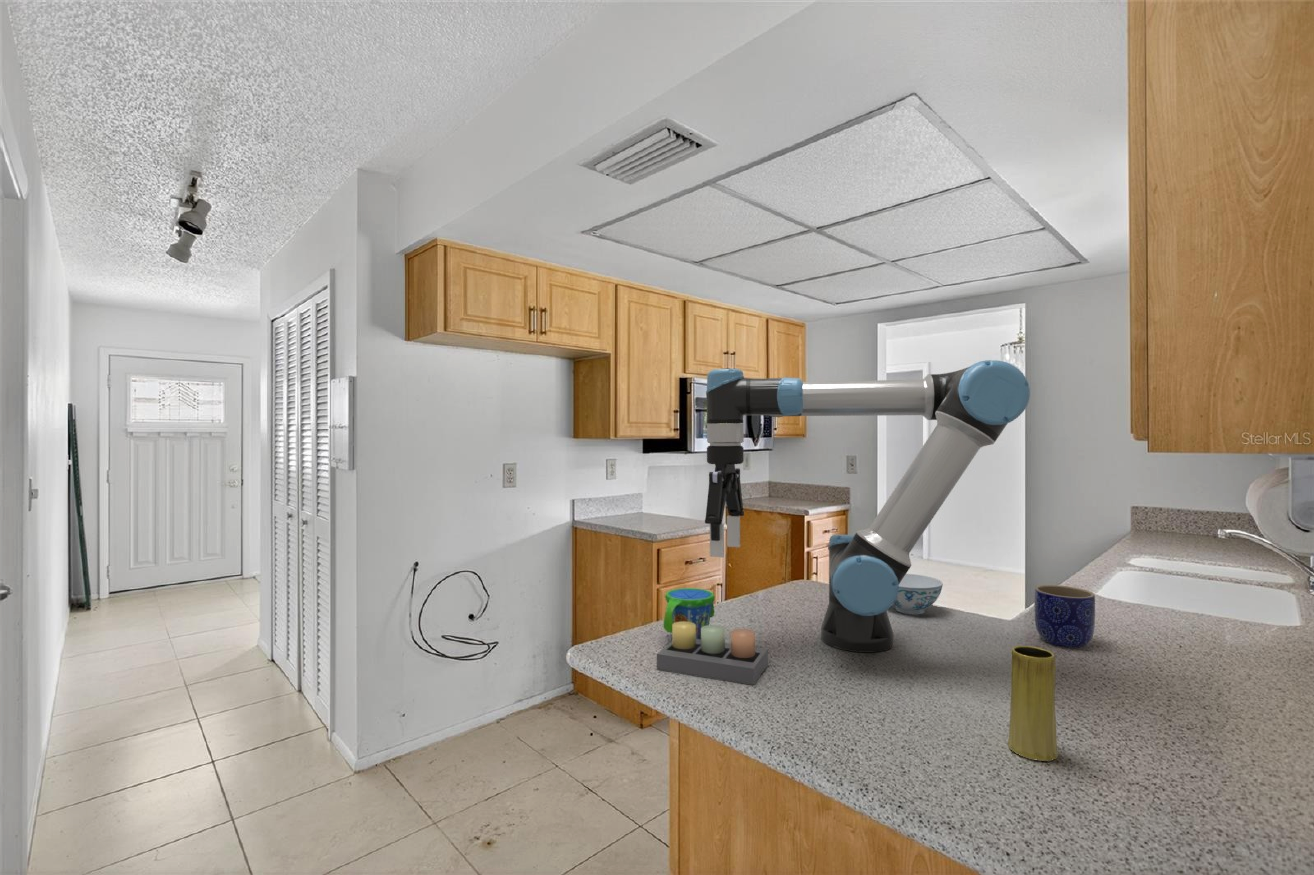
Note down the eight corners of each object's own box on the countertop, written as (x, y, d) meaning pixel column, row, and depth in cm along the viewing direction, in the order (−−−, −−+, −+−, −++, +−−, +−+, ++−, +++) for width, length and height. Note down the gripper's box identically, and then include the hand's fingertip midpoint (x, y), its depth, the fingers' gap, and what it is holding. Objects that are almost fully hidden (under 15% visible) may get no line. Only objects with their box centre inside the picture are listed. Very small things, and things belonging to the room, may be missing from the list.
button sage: (727, 647, 123) (727, 626, 123) (720, 654, 118) (720, 633, 118) (705, 644, 124) (705, 624, 124) (697, 651, 120) (697, 630, 120)
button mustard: (698, 643, 125) (698, 623, 125) (690, 650, 121) (690, 629, 121) (677, 640, 127) (677, 620, 127) (668, 647, 123) (668, 627, 123)
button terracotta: (757, 651, 120) (757, 630, 120) (751, 659, 116) (751, 638, 116) (734, 648, 122) (734, 627, 122) (727, 656, 118) (727, 634, 118)
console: (768, 664, 123) (768, 648, 123) (753, 685, 113) (753, 668, 113) (677, 650, 130) (677, 636, 130) (656, 669, 120) (656, 653, 120)
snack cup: (696, 626, 147) (696, 583, 146) (731, 637, 139) (731, 591, 139) (647, 642, 136) (647, 595, 136) (682, 654, 128) (682, 605, 128)
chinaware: (872, 601, 167) (872, 572, 167) (930, 603, 165) (931, 574, 165) (887, 618, 152) (887, 586, 152) (951, 620, 151) (951, 588, 150)
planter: (1101, 654, 127) (1101, 599, 127) (1039, 647, 131) (1039, 594, 131) (1087, 638, 138) (1087, 587, 137) (1030, 632, 142) (1030, 582, 141)
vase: (1066, 754, 88) (1066, 653, 88) (1044, 767, 85) (1044, 662, 85) (1021, 736, 93) (1021, 641, 93) (999, 748, 90) (999, 649, 90)
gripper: (724, 443, 141) (725, 541, 141) (687, 446, 120) (688, 560, 120) (757, 443, 138) (757, 543, 138) (725, 446, 117) (726, 564, 117)
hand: (725, 551), depth 129 cm, fingers open, 11 cm apart
